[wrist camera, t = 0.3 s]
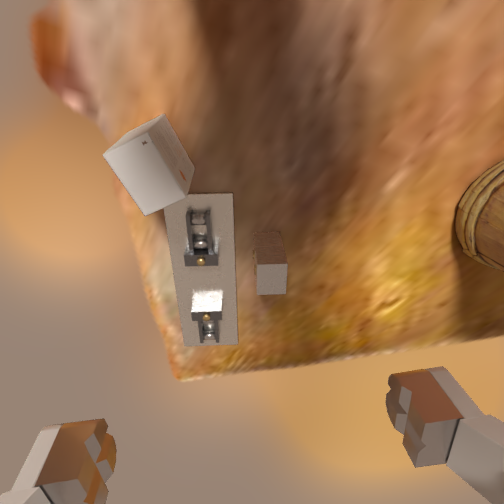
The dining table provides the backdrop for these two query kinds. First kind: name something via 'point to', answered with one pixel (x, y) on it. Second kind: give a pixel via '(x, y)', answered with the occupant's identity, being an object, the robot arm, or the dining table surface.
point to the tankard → (483, 218)
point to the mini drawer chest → (269, 263)
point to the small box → (152, 165)
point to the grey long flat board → (204, 267)
